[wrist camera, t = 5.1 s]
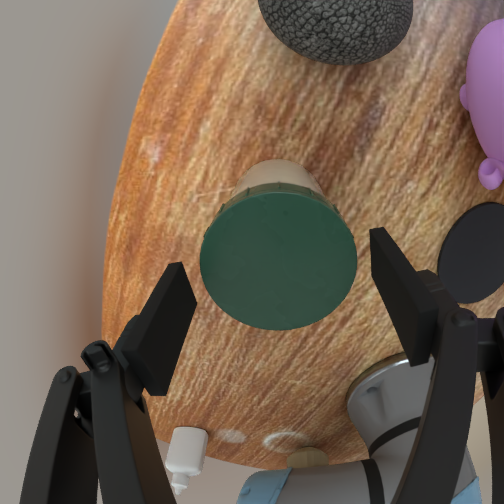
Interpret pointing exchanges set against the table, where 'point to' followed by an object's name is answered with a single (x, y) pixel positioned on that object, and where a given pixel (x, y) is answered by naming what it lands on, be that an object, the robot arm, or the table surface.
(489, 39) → the teapot
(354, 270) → the jar lid
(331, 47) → the decorative ball
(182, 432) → the eye dropper bottle
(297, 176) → the jar
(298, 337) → the table surface
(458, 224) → the coaster
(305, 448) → the decorative mushroom
